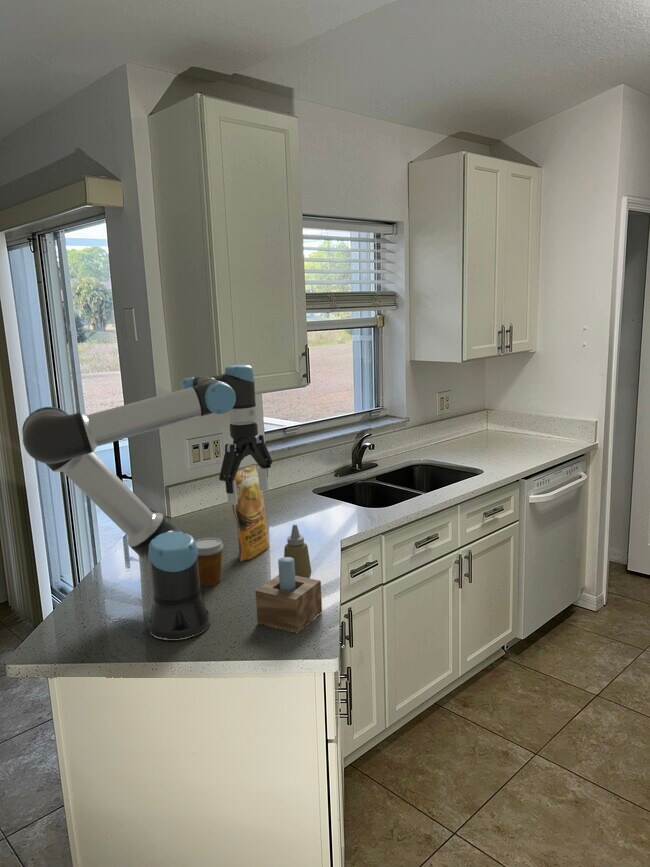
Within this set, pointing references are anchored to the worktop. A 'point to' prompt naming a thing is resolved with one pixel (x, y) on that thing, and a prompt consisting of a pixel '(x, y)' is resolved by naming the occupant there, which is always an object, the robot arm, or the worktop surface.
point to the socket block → (289, 604)
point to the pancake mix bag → (250, 514)
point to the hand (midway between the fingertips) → (248, 497)
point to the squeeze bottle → (298, 553)
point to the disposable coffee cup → (209, 560)
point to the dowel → (287, 574)
